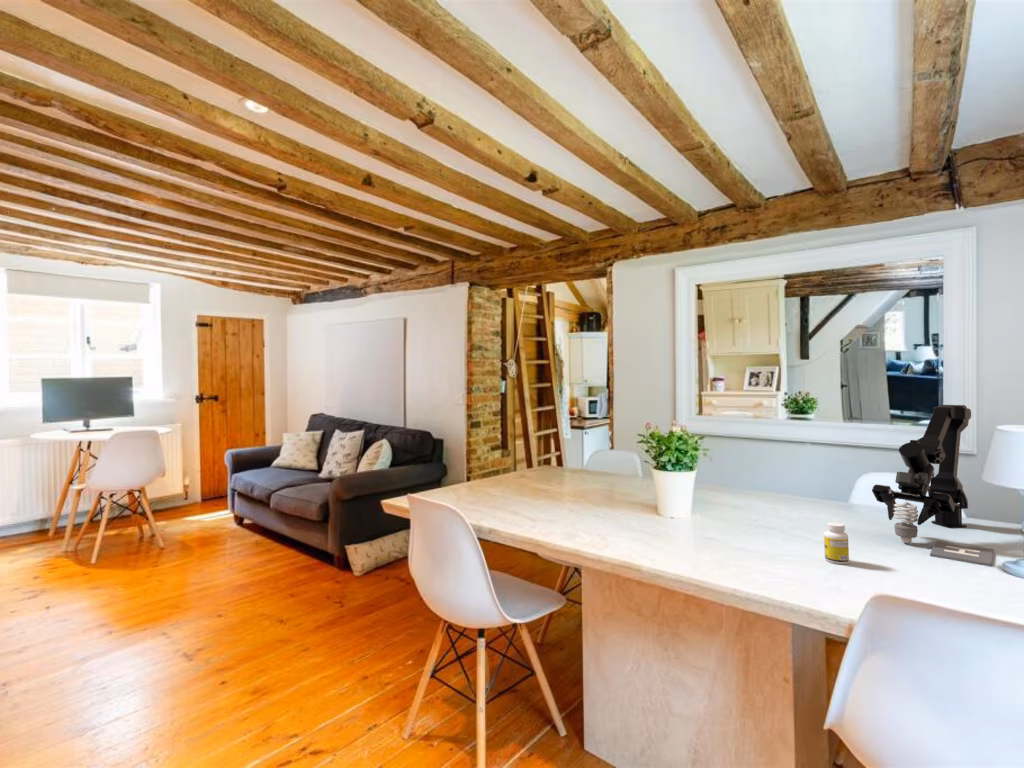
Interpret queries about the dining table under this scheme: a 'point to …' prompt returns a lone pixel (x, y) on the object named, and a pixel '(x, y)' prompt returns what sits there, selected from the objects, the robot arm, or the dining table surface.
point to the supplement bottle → (836, 544)
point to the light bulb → (906, 522)
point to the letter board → (962, 552)
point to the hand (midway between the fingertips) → (903, 521)
